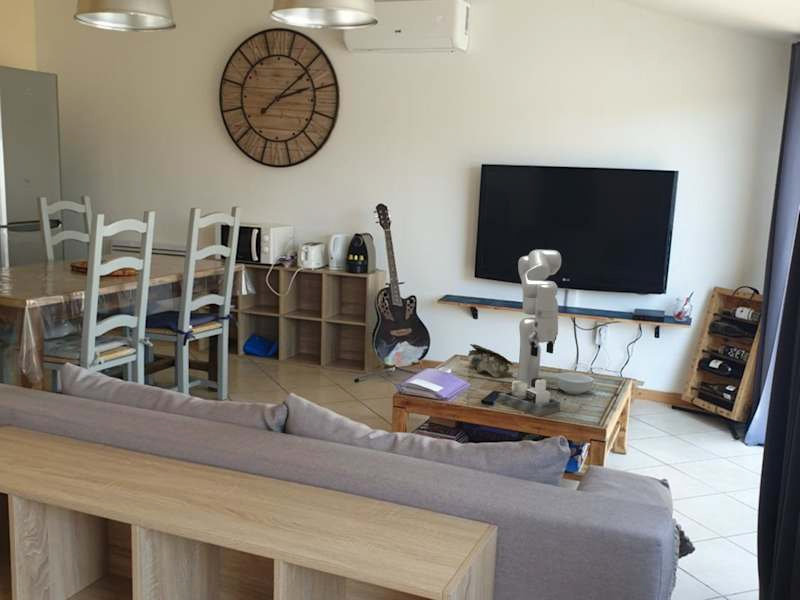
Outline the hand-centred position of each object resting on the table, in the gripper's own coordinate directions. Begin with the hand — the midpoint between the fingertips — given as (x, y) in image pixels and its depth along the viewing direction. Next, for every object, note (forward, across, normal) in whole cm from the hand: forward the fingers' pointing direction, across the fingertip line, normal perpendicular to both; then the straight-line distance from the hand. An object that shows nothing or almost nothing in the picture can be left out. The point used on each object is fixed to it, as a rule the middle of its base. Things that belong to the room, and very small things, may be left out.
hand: (541, 354), depth 332 cm
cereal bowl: (+24, +32, +7) cm, 41 cm away
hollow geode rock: (+25, +25, +54) cm, 65 cm away
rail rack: (+23, -3, +3) cm, 23 cm away
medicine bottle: (+22, -3, -2) cm, 22 cm away
